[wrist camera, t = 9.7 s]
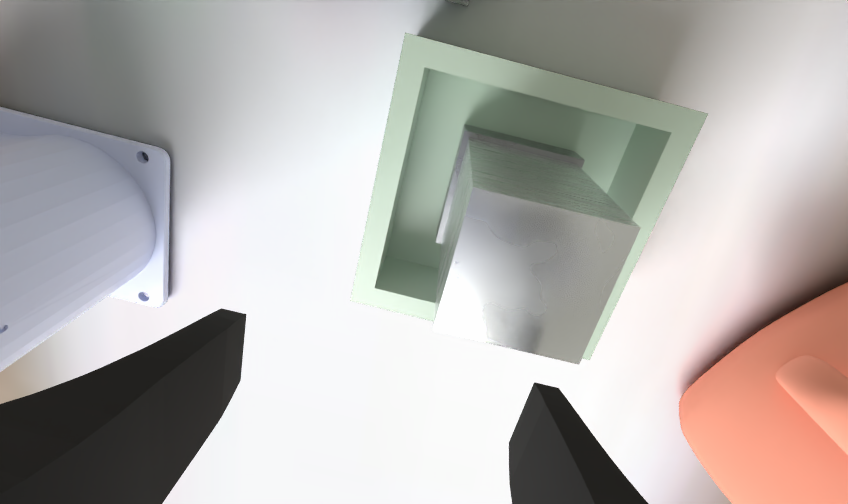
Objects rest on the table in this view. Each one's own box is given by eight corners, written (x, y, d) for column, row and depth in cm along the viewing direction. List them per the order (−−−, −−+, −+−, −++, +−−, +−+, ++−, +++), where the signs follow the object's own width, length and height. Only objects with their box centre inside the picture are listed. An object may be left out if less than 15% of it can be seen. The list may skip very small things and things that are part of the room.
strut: (437, 227, 20) (423, 334, 12) (464, 123, 18) (466, 176, 11) (537, 252, 20) (583, 371, 13) (574, 151, 18) (652, 221, 11)
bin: (368, 258, 22) (350, 300, 18) (416, 35, 18) (405, 32, 14) (567, 307, 22) (589, 360, 18) (657, 100, 18) (708, 113, 14)
